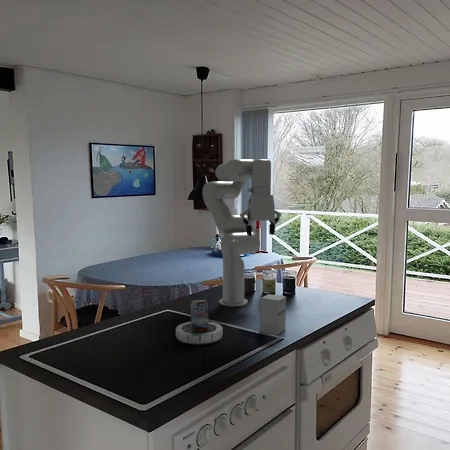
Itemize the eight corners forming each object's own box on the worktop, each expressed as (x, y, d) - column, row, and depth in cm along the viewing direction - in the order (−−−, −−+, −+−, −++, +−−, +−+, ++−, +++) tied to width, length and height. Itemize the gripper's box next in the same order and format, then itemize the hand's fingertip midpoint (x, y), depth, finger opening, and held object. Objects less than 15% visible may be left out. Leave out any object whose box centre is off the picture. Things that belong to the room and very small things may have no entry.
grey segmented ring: (171, 331, 165) (171, 323, 165) (213, 327, 171) (213, 319, 170) (182, 346, 150) (182, 337, 150) (228, 341, 156) (228, 332, 155)
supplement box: (277, 335, 162) (278, 300, 161) (258, 331, 166) (259, 297, 164) (286, 329, 168) (286, 296, 167) (268, 326, 172) (268, 293, 171)
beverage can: (195, 338, 156) (194, 303, 155) (187, 332, 163) (187, 298, 162) (212, 335, 159) (211, 301, 158) (204, 329, 165) (203, 297, 164)
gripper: (244, 191, 171) (243, 237, 173) (285, 191, 177) (284, 235, 179) (236, 191, 178) (236, 234, 180) (276, 191, 184) (276, 233, 186)
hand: (260, 235), depth 179 cm, fingers open, 9 cm apart
